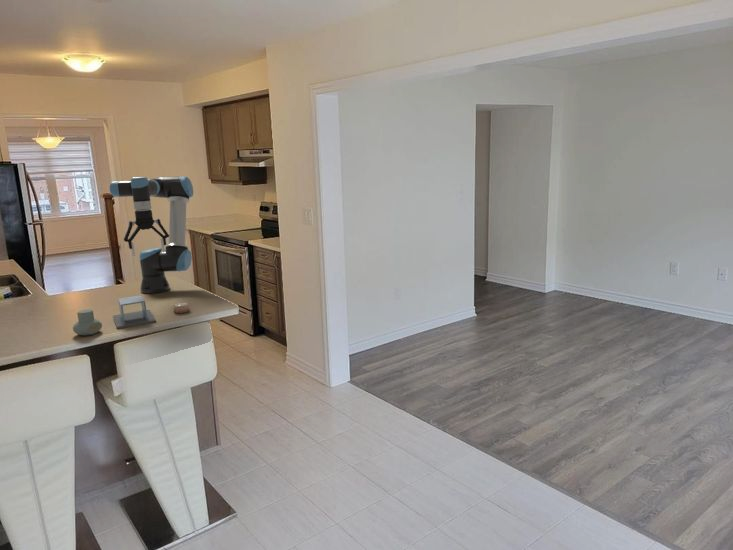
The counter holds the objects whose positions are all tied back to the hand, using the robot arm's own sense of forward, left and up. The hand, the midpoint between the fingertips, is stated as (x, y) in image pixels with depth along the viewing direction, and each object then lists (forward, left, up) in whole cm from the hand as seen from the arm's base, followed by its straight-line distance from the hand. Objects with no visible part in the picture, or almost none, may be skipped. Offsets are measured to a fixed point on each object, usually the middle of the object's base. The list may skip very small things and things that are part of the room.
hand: (148, 253), depth 253 cm
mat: (+18, -12, -27) cm, 34 cm away
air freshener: (+27, -31, -27) cm, 49 cm away
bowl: (+18, +9, -27) cm, 33 cm away
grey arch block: (+18, -12, -26) cm, 34 cm away
